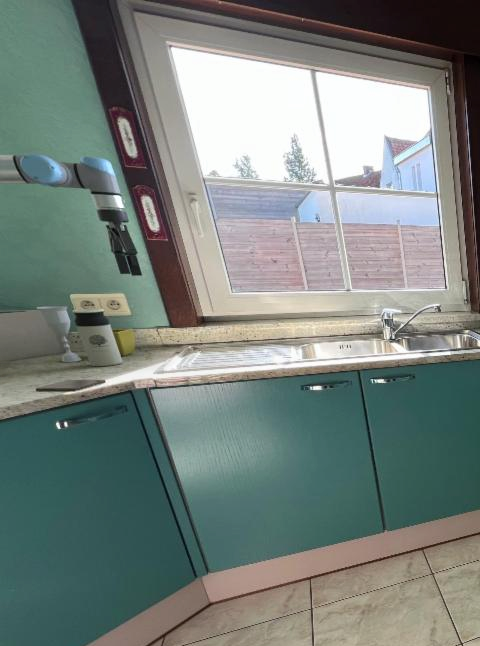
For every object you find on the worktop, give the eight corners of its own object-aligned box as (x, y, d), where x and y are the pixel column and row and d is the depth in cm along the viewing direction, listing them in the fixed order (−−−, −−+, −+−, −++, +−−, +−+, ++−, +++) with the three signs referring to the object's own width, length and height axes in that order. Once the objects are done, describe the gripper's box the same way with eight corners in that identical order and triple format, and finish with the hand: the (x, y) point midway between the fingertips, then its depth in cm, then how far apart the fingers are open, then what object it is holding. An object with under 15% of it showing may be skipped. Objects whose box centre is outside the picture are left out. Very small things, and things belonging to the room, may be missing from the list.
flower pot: (97, 357, 176) (88, 332, 173) (114, 353, 184) (105, 328, 181) (126, 357, 178) (117, 332, 175) (141, 352, 186) (133, 328, 183)
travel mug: (96, 362, 169) (76, 309, 162) (126, 361, 172) (108, 308, 165) (86, 367, 162) (66, 311, 155) (118, 365, 166) (99, 310, 159)
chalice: (52, 363, 167) (31, 308, 160) (63, 359, 173) (42, 306, 166) (81, 361, 170) (61, 308, 163) (90, 358, 175) (71, 306, 169)
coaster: (36, 391, 136) (35, 388, 135) (69, 382, 145) (68, 379, 145) (75, 391, 137) (74, 388, 136) (105, 382, 146) (104, 379, 145)
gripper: (136, 209, 165) (155, 276, 173) (115, 211, 178) (134, 273, 186) (106, 207, 159) (127, 276, 167) (86, 209, 172) (107, 273, 180)
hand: (131, 274), depth 176 cm, fingers open, 13 cm apart
